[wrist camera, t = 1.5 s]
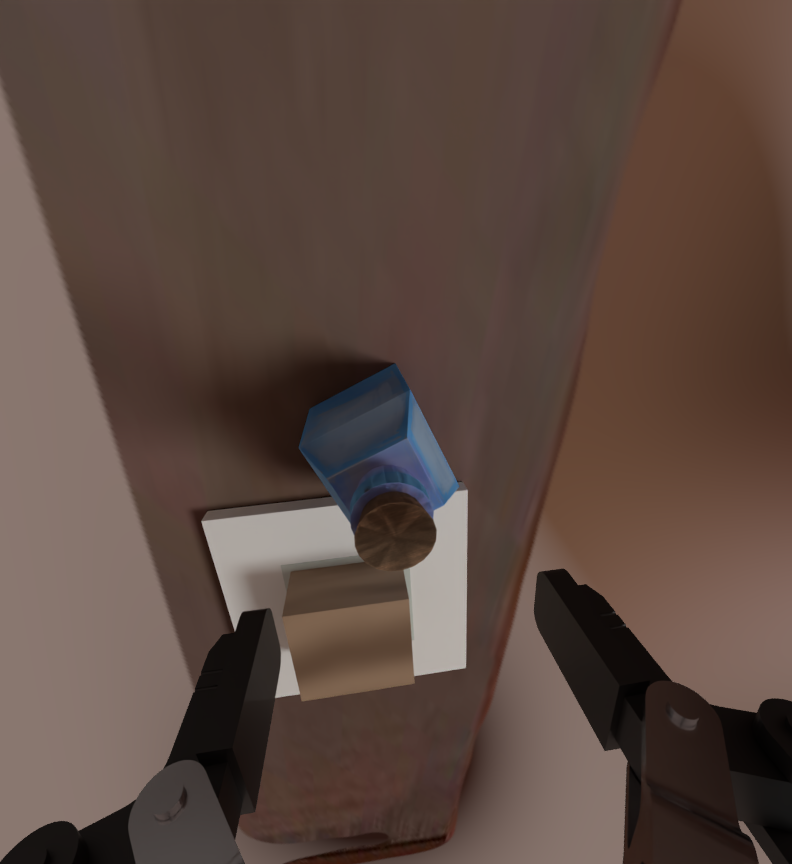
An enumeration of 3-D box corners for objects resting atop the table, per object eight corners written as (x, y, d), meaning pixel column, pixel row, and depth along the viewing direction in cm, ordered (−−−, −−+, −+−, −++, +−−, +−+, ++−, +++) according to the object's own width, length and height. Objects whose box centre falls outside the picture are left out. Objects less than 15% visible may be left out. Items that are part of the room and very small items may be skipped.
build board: (207, 511, 26) (200, 521, 25) (462, 481, 28) (467, 490, 27) (259, 686, 33) (255, 701, 32) (462, 655, 35) (466, 668, 34)
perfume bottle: (356, 481, 27) (363, 623, 16) (309, 408, 25) (279, 514, 14) (435, 441, 27) (498, 558, 16) (395, 363, 24) (435, 435, 13)
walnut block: (290, 571, 28) (281, 616, 24) (401, 557, 28) (408, 599, 25) (307, 650, 31) (301, 701, 27) (406, 635, 31) (414, 683, 28)
